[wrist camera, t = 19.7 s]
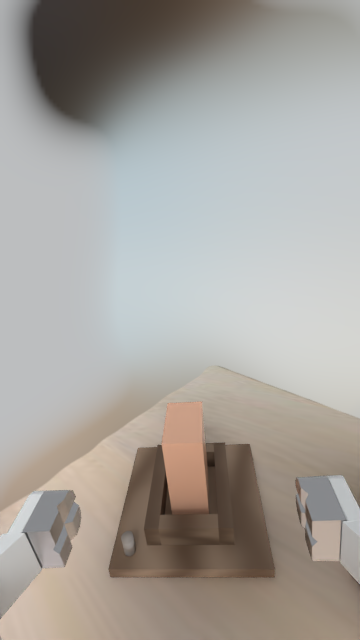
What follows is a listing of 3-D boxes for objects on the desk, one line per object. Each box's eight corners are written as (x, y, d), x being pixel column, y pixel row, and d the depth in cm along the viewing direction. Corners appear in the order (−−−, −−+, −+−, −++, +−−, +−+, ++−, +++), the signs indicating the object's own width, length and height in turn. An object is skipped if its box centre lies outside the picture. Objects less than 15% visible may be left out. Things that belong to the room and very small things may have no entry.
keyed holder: (249, 450, 45) (249, 429, 44) (274, 577, 30) (274, 551, 29) (139, 454, 46) (135, 434, 45) (110, 576, 32) (103, 552, 30)
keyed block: (208, 472, 41) (201, 401, 37) (209, 521, 35) (202, 442, 31) (177, 473, 41) (167, 403, 37) (173, 522, 35) (161, 444, 31)
